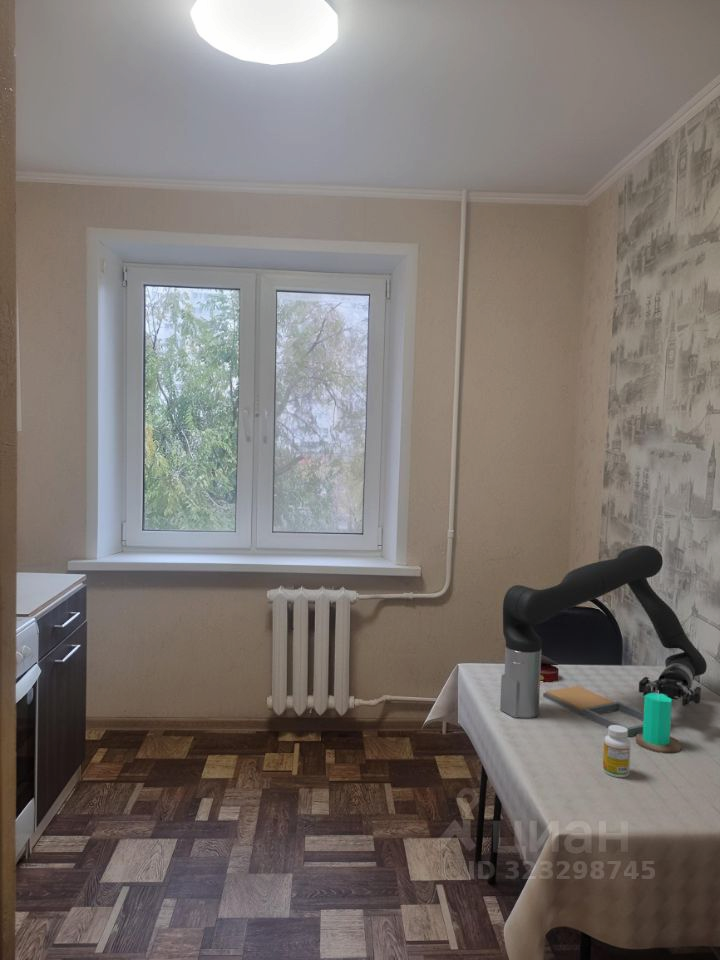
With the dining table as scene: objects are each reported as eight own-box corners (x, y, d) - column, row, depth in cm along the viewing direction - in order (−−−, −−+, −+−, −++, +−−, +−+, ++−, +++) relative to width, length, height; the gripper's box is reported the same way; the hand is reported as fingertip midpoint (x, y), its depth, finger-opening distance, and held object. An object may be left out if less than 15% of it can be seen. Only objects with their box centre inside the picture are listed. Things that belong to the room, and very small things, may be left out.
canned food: (523, 690, 218) (514, 658, 221) (551, 684, 221) (541, 652, 225) (540, 684, 208) (530, 650, 212) (570, 678, 211) (559, 645, 215)
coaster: (661, 756, 162) (661, 752, 162) (626, 739, 171) (626, 736, 171) (690, 748, 167) (690, 745, 167) (655, 732, 176) (655, 729, 176)
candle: (652, 746, 166) (655, 695, 165) (637, 735, 171) (639, 687, 171) (675, 744, 167) (677, 694, 166) (658, 734, 173) (661, 685, 172)
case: (627, 737, 173) (628, 729, 172) (543, 696, 199) (543, 690, 199) (664, 728, 179) (664, 721, 178) (577, 690, 205) (577, 684, 205)
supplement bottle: (608, 764, 157) (610, 721, 157) (632, 771, 154) (634, 728, 153) (599, 772, 153) (601, 728, 153) (624, 780, 150) (626, 735, 149)
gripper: (648, 661, 191) (635, 677, 177) (706, 671, 183) (697, 689, 170) (646, 688, 191) (633, 706, 178) (704, 700, 184) (696, 720, 170)
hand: (665, 698), depth 174 cm, fingers open, 8 cm apart
